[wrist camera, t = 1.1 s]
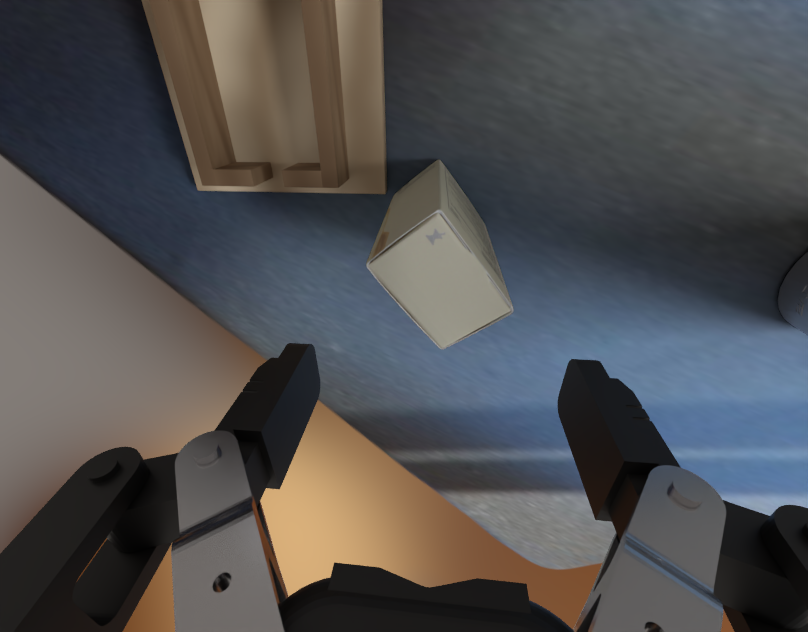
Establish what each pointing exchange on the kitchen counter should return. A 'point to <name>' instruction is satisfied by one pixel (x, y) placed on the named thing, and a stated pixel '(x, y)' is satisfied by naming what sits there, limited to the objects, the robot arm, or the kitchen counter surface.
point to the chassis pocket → (276, 92)
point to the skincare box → (439, 259)
